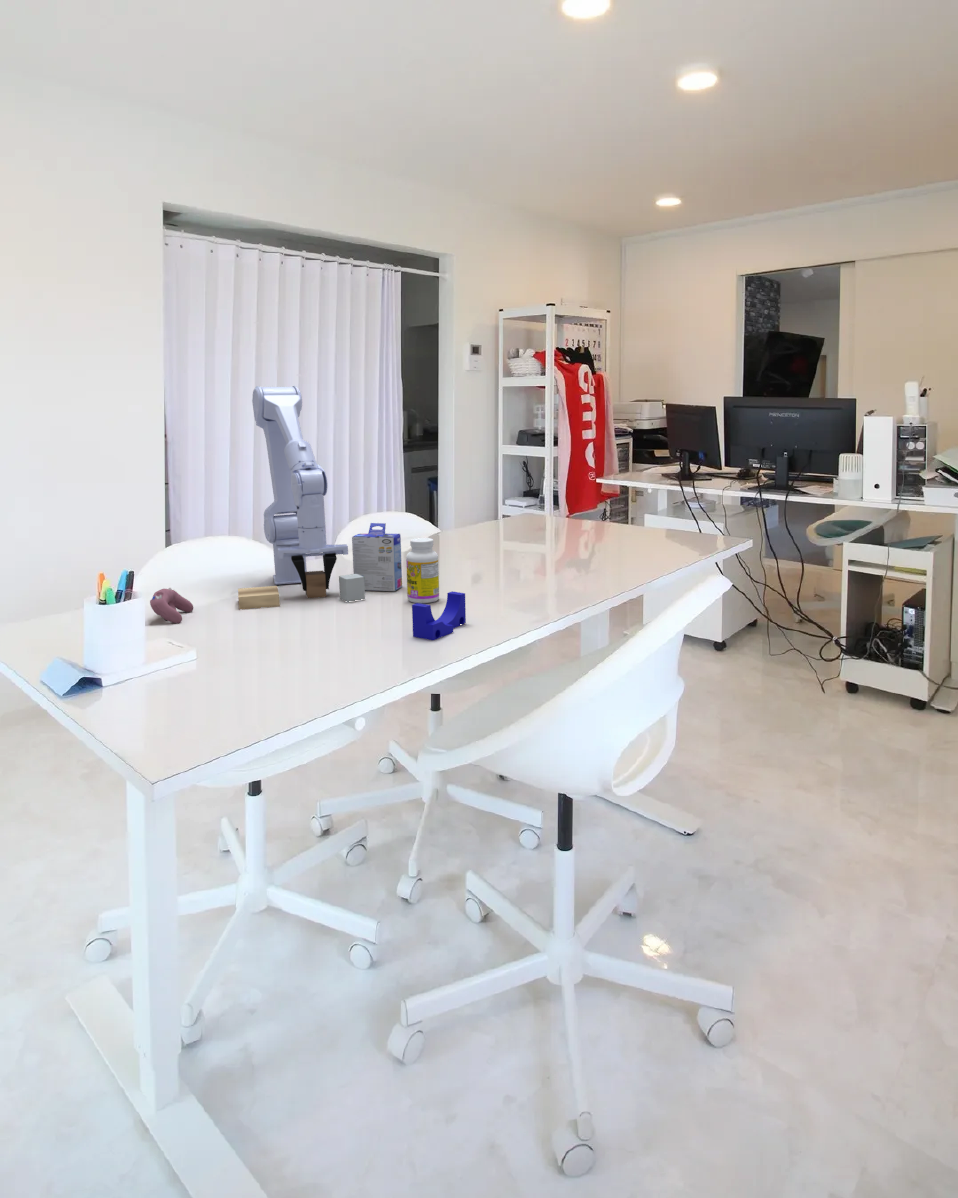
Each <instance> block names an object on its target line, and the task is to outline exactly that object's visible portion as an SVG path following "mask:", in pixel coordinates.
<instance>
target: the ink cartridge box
mask: <svg viewBox="0 0 958 1198" xmlns="http://www.w3.org/2000/svg"><path fill="white" fill-rule="evenodd" d="M375 527H380V528H382V529H373V528H375ZM351 542H352V543H351V544H352V545H351V546H352V566H353V567H352V568H353V569H352V570H353V571H352V572H353V574H358V575H361V576H363V577H364V588H365V591H373V592H375V591H378V592H379V591H380V592H396V591H397V590H400V589H401V588H403V578H402V577H403V573H402V569H403V566H402V545H401V542H402V541H401V533H386V523H385V522H383V523H382V522H380V523H379V522H377V523H376V522H370V525H369V529H368V533H357V534H355V535H353V536H352V537H351Z"/></svg>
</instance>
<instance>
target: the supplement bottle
mask: <svg viewBox="0 0 958 1198" xmlns="http://www.w3.org/2000/svg"><path fill="white" fill-rule="evenodd" d="M409 546H410V548H411V551H409V552H408V553H407V554H406V557H405V558H406V560H405V561H406V594H407V600H408V601H409V602H411V603H413V604H416V603H420V604H431V603H435V602H437V601H438V600H439V598H440V580H439V579H440V578H439V577H440V576H439V575H440V572H439V555H438V553H437V552H436V551H435V550H434V549H433V547H434V539H433V538H429V537H419V538H417V537H415V538H412V539H410V545H409Z"/></svg>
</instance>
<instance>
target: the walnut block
mask: <svg viewBox="0 0 958 1198" xmlns="http://www.w3.org/2000/svg"><path fill="white" fill-rule="evenodd" d="M305 579H306V586H307V591H305V596H306V598H307V599H319V598H318V597H320V598H327V589H326V580H325V573H324V570H312V571H311V570H310V571H307V572H305Z"/></svg>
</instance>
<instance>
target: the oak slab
mask: <svg viewBox="0 0 958 1198" xmlns="http://www.w3.org/2000/svg"><path fill="white" fill-rule="evenodd" d="M237 595H238V596H237V597H238V598H237V599H238V609H242V610H251V609H250V608H255V609H262V608H261V607H267V608H278V607H281V603H280V593H279V587H278V585H271V586H270V585H269V586H268V585H267V586H257V587H256V586H255V587H242V588H237Z"/></svg>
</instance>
